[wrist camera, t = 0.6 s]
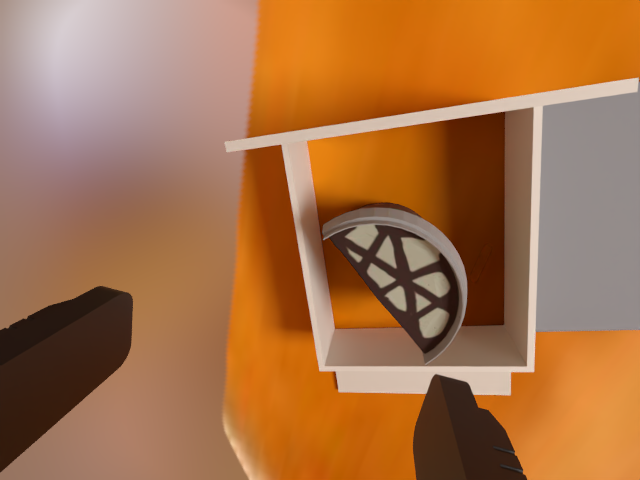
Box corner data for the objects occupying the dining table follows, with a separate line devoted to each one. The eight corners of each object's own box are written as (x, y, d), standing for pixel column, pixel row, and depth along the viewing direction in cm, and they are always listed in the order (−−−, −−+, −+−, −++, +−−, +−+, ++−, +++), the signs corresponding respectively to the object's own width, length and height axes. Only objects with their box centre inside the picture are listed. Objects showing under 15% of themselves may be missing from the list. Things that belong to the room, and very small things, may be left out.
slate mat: (755, 64, 24) (761, 63, 23) (706, 325, 29) (710, 328, 29) (526, 99, 27) (528, 99, 27) (521, 329, 33) (523, 331, 32)
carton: (512, 101, 27) (638, 77, 13) (509, 392, 35) (588, 572, 21) (300, 133, 31) (224, 141, 17) (339, 389, 39) (309, 540, 25)
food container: (478, 267, 32) (513, 327, 22) (419, 302, 34) (430, 370, 24) (394, 158, 30) (395, 173, 21) (339, 201, 32) (317, 233, 23)
